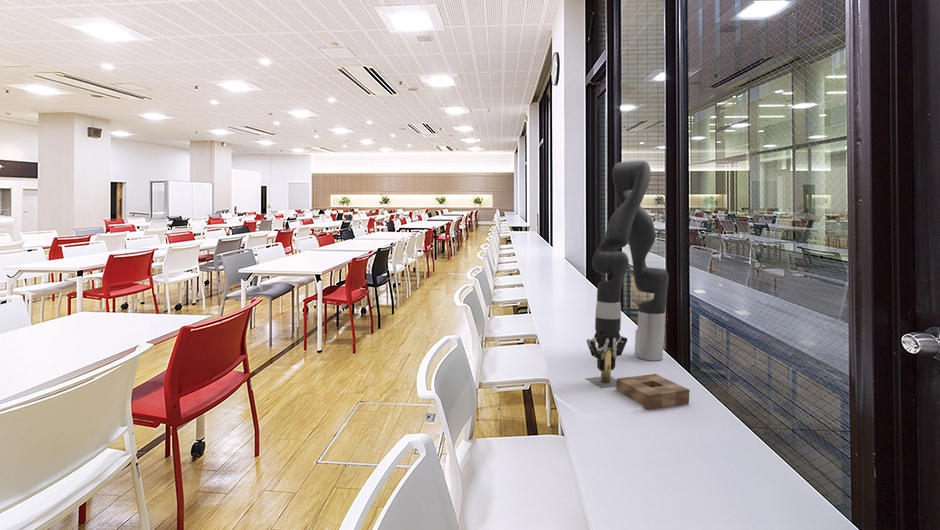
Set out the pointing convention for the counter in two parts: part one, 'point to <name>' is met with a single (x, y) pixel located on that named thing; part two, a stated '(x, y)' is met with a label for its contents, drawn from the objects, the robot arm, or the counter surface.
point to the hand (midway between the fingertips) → (605, 369)
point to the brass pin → (607, 367)
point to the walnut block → (653, 391)
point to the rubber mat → (601, 384)
